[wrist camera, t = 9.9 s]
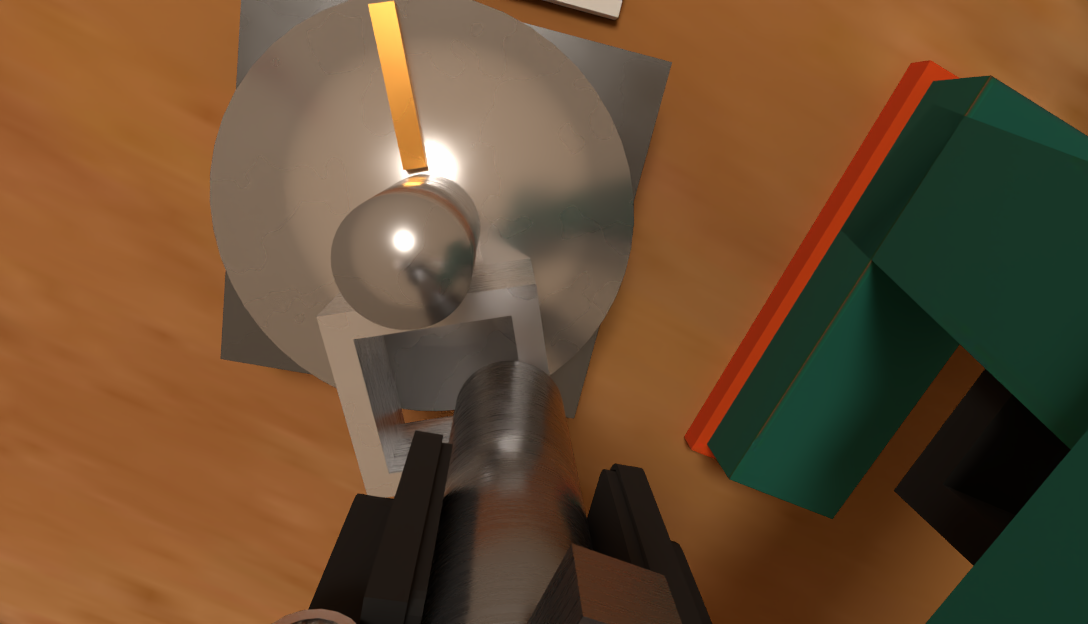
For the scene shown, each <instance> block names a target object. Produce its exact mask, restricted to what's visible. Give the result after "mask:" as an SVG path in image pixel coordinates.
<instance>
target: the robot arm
mask: <svg viewBox="0 0 1088 624" xmlns="http://www.w3.org/2000/svg"><path fill="white" fill-rule="evenodd" d="M442 440H443V435H441V434H435V433H429V432H423V431H417V430H415V433H414V436H413V439H412V442H411V446H410V449H409V452H408V455H407V459H406V462H405V465H404V468H403V472H402V475H401V478H400V481H399V485H398V488H397V491H396V494H395V498H394V499H390V498H384V497H377V496H371V495H364V494H357V495H356V497H355V499H354V501H353V503H352V505H351V508H350V510H349V513H348V515H347V518H346V520H345V522H344V525H343V527H342V530H341V532H340V534H339V537H338V539H337V542H336V544H335V546H334V549H333V551H332V554H331V556H330V559H329V561H328V563H327V566H326V568H325V571H324V573H323V575H322V578H321V580H320V583H319V585H318V588H317V590H316V592H315V595H314V597H313V600H312V602H311V604H310V607H309V609H308V610H302V611H299V612H296V613H292V614H289V615H286V616H284V617H282V618H281V619H279V620H277V621H276V622H274V623H272V624H421V619H422V614H423V609H424V604H425V599H426V593H427V588H428V582H429V577H430V571H431V565H432V560H433V554H434V548H435V543H436V537H437V531H438V526H439V520H440V515H441V509H442V503H443V498H444V492H445V486H446V481H447V475H448V469H449V464H450V458H451V453H452V447H453V444H449V443H443V442H442ZM587 522H588V527H589V532H590V537H591V542H592V546H593V551H595V552H598V553H601V554H604V555H607V556H610V557H613V558H616V559H618V560H621V561H624V562H627V563H630V564H633V565H636V566H639V567H641V568H644V569H647V570H650V571H653V572H656V573H659V574H662V575H664V576H665V578H666V580H667V583H668V586H669V589H670V592H671V594H672V597H673V600H674V603H675V606H676V608H677V611H678V614H679V617H680V620H681V622H682V624H712V622H711V620H710V617H709V615H708V612H707V610H706V607H705V605H704V602H703V600H702V597H701V595H700V592H699V590H698V587H697V585H696V582H695V580H694V577H693V575H692V573H691V570H690V568H689V565H688V563H687V560H686V558H685V555H684V553H683V550H682V549H681V547H680V545H679V544H678V543H676V542H673V541H671V540H670V538H669V535H668V533H667V530H666V527H665V525H664V522H663V519H662V517H661V514H660V512H659V509H658V506H657V504H656V501H655V499H654V496H653V493H652V491H651V488H650V486H649V483H648V480H647V478H646V475H645V473H644V471H643V469H642V468H638V467H632V466H626V465H620V464H614V465H613V466H612V467H611V469H610V470H605V469H604V470H602V472H601V474H600V477H599V481H598V484H597V487H596V491H595V494H594V497H593V501H592V504H591V507H590V511H589V514H588V517H587Z"/></svg>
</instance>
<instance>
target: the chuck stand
mask: <svg viewBox="0 0 1088 624" xmlns="http://www.w3.org/2000/svg"><path fill="white" fill-rule="evenodd" d="M346 1H349V0H241V14H240V31H239V48H238V66H237V83H236V89H237V88H238V86H239V85H240V83H241V82H242V80H243V79H244V77H245V76H246V74H247V73H248V71H249V70H250V68H251V67H252V66H253V65H254V63H255V62H256V61H257V60H258V59H259V58H260V57H261V56H262V55H263V54H264V53H265V52H266V51H267V49H268V48H269V47H270V46H271V45H272V44H273V43H274V42H276V41H277V40H278V39H280V38H281V37H282V36H283V35H285V34H286V33H287V32H288V31H290V30H291V29H292V28H293V27H295V26H296V25H298V24H300V23H301V22H303V21H305V20H307V19H308V18H310V17H312V16H314V15H315V14H317V13H319V12H321V11H323V10H325V9H328V8H330V7H333V6H336V5H338V4H341V3H344V2H346ZM522 23H523V22H522ZM524 24H526V23H524ZM526 25H528V26H529V27H531V28H532V29H534V30H535V31H536V32H538V33H539V34H540V35H542V36H543V37H544V38H546V39H547V40H548V41H550V42H551V43H553V44H554V45H555V46H556V47H557V48H558V49H559V50H560V51H561V52H562V53H563V54H564V55H565V56H567V57H568V58H569V59H570V60H571V61H572V62H573V63H574V64H575V65H576V66H577V67H578V69H579V70H580V71H581V72H582V74H583V75H584V76H585V78H586V79H587V80H588V81H589V83H590V84H591V85H592V86H593V88H594V89H595V90H596V92H597V94H598V95H599V97H600V99H601V100H602V102H603V104H604V105H605V107H606V109H607V110H608V112H609V114H610V116H611V118H612V120H613V123H614V125H615V127H616V130H617V132H618V134H619V137H620V139H621V141H622V144H623V148H624V152H625V155H626V159H627V162H628V166H629V170H630V176H631V183H632V190H633V202H634V199H635V195H636V191H637V188H638V184H639V180H640V177H641V173H642V169H643V166H644V162H645V158H646V155H647V151H648V148H649V144H650V140H651V137H652V133H653V129H654V126H655V122H656V118H657V115H658V111H659V108H660V104H661V100H662V97H663V93H664V89H665V86H666V82H667V78H668V75H669V71H670V68H671V64H672V62H669V61H665V60H661V59H657V58H654V57H650V56H646V55H642V54H639V53H635V52H631V51H627V50H624V49H620V48H616V47H612V46H609V45H605V44H601V43H597V42H594V41H590V40H586V39H582V38H579V37H575V36H571V35H567V34H564V33H560V32H556V31H552V30H549V29H545V28H541V27H537V26H534V25H530V24H526ZM599 326H600V325H599ZM599 326H598V328H597V329H596V331H595V332H594V333H593V335H592V336H591V338H590V339H589V340H588V341H587V342H586V343H585V344H584V345H583V346H582V348H581V349H580V350H579V351H578V352H577V353H576V354H575V355H574V356H573V357H572V358H571V359H570V360H568V361H567V362H566V363H565V364H564V365H562V366H561V367H560V368H559V369H558V370H556V371H555V372H554V373H552V374H551V375H549V376H550V378H551V379H552V380H553V381H554V382H555V384H556V385H557V387H558V389H559V391H560V394H561V397H562V401H563V406H564V411H565V416H566V417H568V418H574V417H575V413H576V410H577V406H578V402H579V399H580V395H581V391H582V388H583V384H584V380H585V377H586V373H587V370H588V366H589V362H590V359H591V355H592V351H593V348H594V344H595V340H596V337H597V333H598V329H599ZM221 359H224V360H230V361H236V362H242V363H248V364H254V365H260V366H266V367H272V368H278V369H284V370H290V371H295V372H301V373H307V374H311V373H310V372H308V371H307V370H305V369H304V368H302V367H301V366H299V365H298V364H297V363H296V362H294V361H293V360H292V359H291V358H290V357H289V356H287V355H286V354H285V353H284V352H283V351H282V350H280V349H279V348H278V347H277V346H276V345H275V344H274V342H273V341H272V340H271V339H270V338H269V337H268V336H267V335H266V334H265V333H264V332H263V331H262V330H261V328H260V327H259V326H258V324H257V323H256V322H255V320H254V319H253V318H252V316H251V315H250V313H249V312H248V311H247V309H246V308H245V307H244V305H243V303H242V301H241V299H240V298H239V296H238V294H237V292H236V290H235V289H234V287H233V285H232V283H231V281H230V279H229V276H228V274H227V271H226V274H225V292H224V309H223V326H222V344H221Z"/></svg>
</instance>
